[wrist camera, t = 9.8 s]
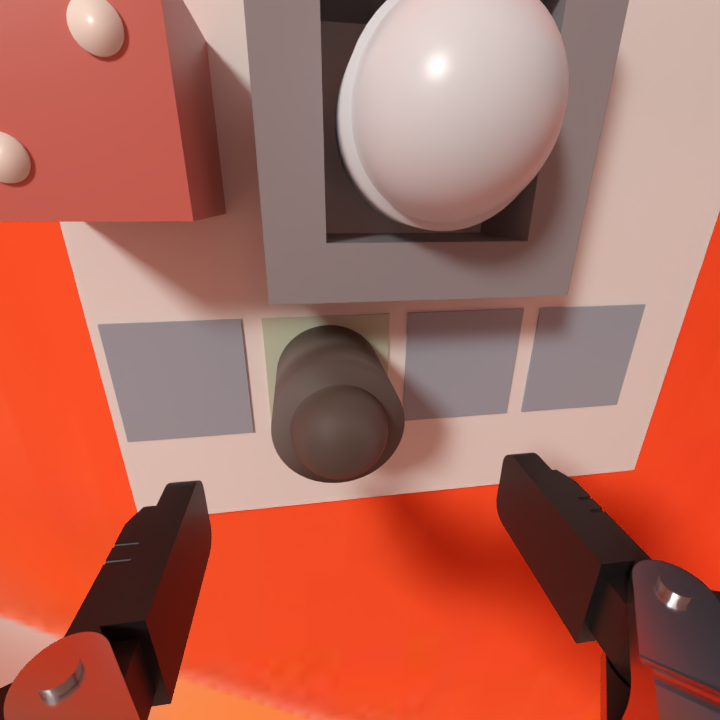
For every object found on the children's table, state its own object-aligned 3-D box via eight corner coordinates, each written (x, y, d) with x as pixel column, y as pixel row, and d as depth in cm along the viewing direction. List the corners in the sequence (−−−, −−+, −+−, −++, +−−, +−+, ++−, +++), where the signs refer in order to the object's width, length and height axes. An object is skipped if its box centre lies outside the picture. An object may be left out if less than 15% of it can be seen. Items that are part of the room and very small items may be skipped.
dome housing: (562, -31, 13) (651, -107, 10) (515, 276, 17) (567, 295, 13) (247, -62, 11) (229, -163, 8) (274, 282, 15) (268, 305, 12)
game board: (766, -28, 15) (807, -48, 14) (617, 456, 23) (635, 470, 22) (-6, -109, 11) (-42, -145, 10) (148, 502, 20) (139, 522, 18)
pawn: (381, 323, 16) (424, 386, 11) (376, 415, 18) (412, 510, 13) (273, 326, 16) (262, 394, 10) (279, 421, 17) (272, 523, 12)
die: (206, 41, 12) (151, -57, 8) (226, 213, 14) (192, 221, 9) (26, 30, 11) (-156, -84, 7) (73, 213, 13) (-45, 222, 9)
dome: (519, 25, 12) (674, -93, 7) (493, 225, 14) (599, 239, 9) (330, 11, 11) (358, -134, 6) (334, 225, 13) (357, 242, 8)
